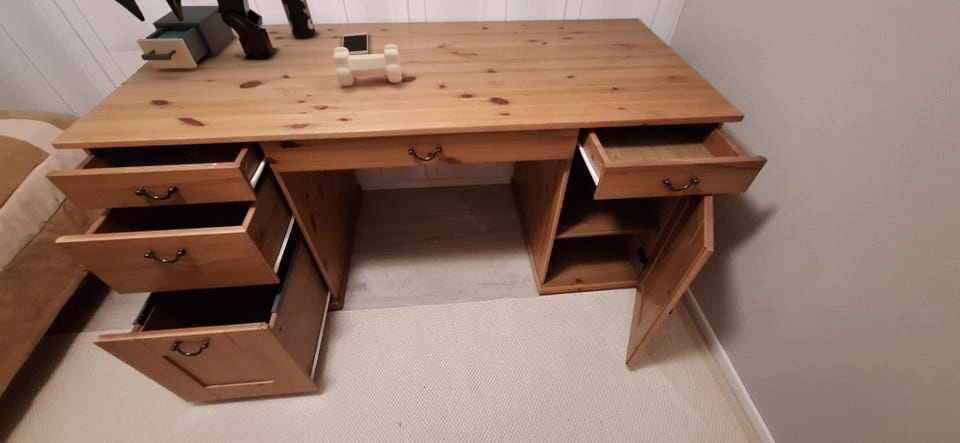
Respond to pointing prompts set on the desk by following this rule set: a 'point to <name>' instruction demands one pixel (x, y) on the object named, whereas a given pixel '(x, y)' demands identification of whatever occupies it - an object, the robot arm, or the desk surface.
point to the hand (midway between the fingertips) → (162, 20)
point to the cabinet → (202, 26)
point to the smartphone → (356, 43)
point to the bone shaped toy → (367, 65)
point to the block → (172, 35)
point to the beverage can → (299, 18)
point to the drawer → (174, 48)
